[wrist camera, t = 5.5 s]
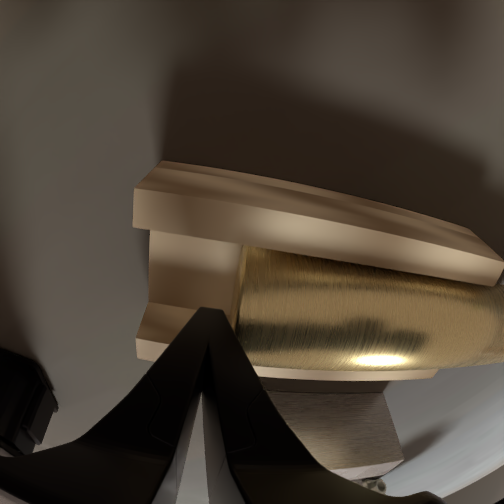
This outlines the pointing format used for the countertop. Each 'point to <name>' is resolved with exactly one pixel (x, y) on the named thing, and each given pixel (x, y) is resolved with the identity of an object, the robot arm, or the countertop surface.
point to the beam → (279, 246)
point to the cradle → (343, 431)
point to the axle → (360, 316)
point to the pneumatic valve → (375, 485)
